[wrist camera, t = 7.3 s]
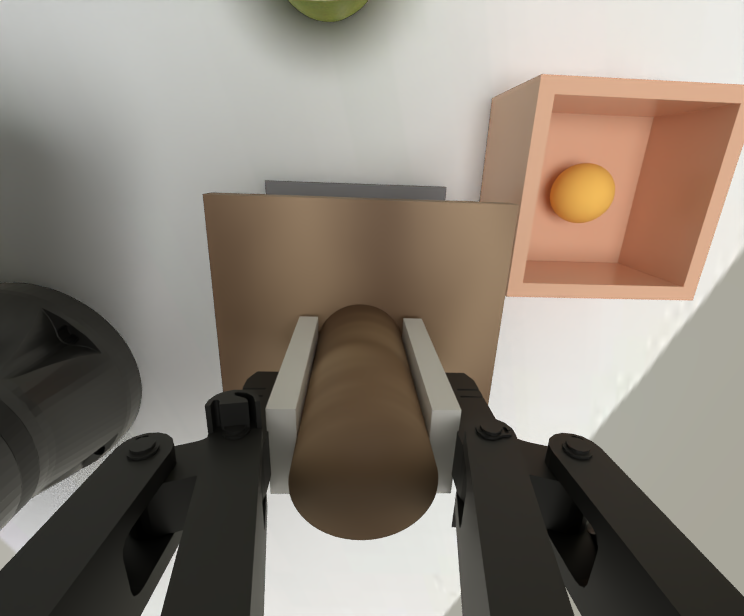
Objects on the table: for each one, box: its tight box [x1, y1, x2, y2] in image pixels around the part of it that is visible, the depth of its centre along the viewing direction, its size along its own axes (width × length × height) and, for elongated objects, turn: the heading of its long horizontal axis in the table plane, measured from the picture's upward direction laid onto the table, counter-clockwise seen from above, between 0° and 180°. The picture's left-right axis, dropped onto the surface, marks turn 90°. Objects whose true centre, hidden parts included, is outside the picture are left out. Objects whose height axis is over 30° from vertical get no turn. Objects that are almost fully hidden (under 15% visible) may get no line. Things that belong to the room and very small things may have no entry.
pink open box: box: [480, 74, 744, 300], centre depth 24 cm, size 11×11×7 cm
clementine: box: [550, 163, 615, 223], centre depth 25 cm, size 4×4×4 cm
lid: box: [203, 193, 519, 540], centre depth 14 cm, size 12×12×9 cm
